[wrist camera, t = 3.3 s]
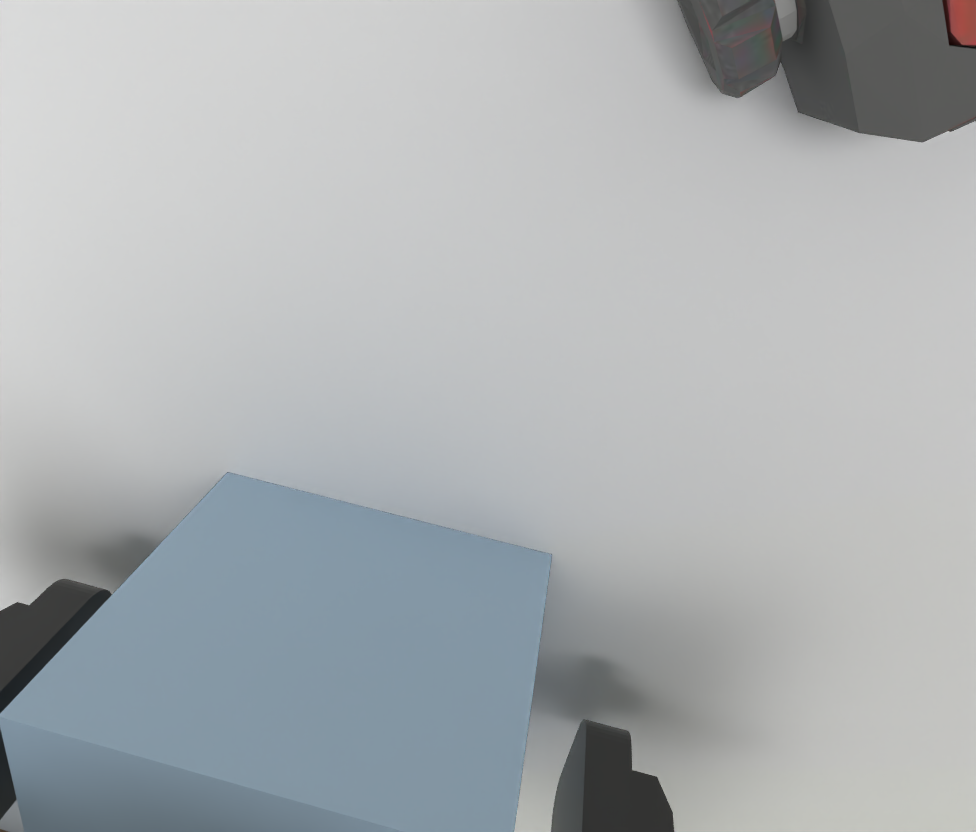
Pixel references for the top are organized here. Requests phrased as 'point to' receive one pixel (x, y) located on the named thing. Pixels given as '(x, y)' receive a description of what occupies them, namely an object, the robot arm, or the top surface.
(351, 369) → the top surface
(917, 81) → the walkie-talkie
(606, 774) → the robot arm
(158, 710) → the blue brick
